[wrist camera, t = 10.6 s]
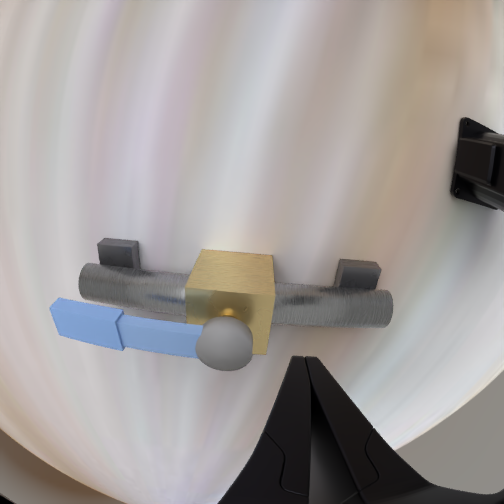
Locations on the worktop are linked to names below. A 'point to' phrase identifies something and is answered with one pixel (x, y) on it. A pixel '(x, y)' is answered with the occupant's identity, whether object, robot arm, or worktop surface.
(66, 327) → the valve lever
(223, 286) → the pipe run
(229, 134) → the worktop surface
